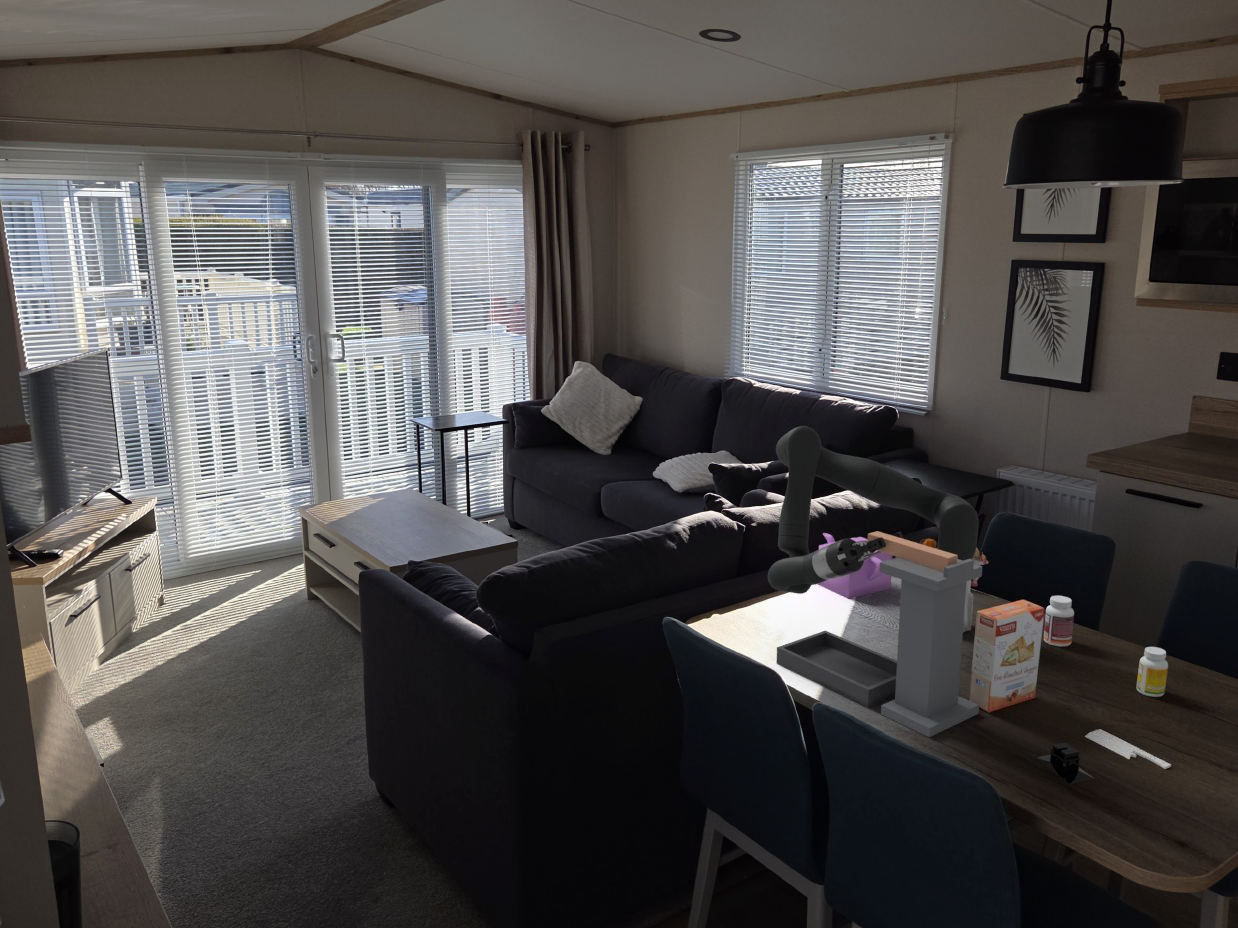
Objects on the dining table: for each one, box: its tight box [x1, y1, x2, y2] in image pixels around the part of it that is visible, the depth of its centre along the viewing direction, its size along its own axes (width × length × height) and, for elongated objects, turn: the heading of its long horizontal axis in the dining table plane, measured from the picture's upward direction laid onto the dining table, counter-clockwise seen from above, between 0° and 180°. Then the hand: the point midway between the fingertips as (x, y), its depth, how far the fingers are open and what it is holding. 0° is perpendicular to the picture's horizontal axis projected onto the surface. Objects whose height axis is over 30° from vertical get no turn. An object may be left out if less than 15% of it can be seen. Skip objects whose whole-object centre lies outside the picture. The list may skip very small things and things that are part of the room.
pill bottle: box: [1043, 595, 1075, 648], centre depth 235 cm, size 6×6×11 cm
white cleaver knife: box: [1084, 729, 1172, 770], centre depth 187 cm, size 5×15×1 cm, turn 26°
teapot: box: [817, 532, 893, 600], centre depth 274 cm, size 15×25×14 cm, turn 28°
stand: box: [879, 556, 983, 738], centre depth 200 cm, size 15×16×34 cm
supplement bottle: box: [1136, 646, 1169, 698], centre depth 209 cm, size 5×5×10 cm
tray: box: [776, 630, 897, 708], centre depth 220 cm, size 27×16×4 cm, turn 35°
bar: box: [867, 530, 958, 572], centre depth 200 cm, size 20×3×3 cm, turn 36°
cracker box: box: [968, 599, 1046, 713], centre depth 205 cm, size 14×6×21 cm, turn 117°
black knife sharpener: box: [1034, 742, 1096, 785], centre depth 182 cm, size 12×7×5 cm, turn 16°
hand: (892, 539), depth 204 cm, fingers open, 5 cm apart
